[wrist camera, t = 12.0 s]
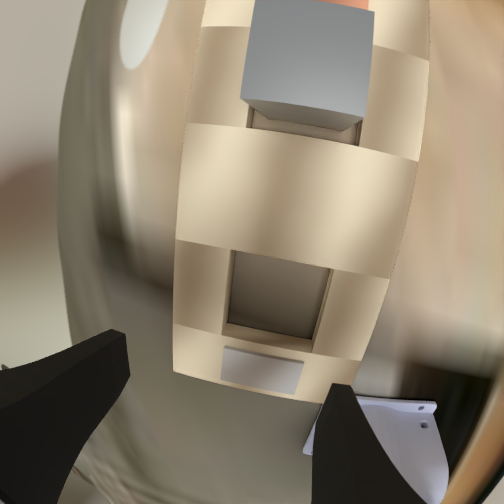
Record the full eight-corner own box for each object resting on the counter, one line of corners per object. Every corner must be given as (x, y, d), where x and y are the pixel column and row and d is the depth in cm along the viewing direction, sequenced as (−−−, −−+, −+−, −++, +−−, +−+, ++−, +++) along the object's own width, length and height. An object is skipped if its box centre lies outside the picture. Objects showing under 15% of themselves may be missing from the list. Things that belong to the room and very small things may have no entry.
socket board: (421, 9, 11) (430, -3, 10) (340, 391, 20) (341, 408, 19) (220, -20, 13) (212, -33, 11) (180, 358, 22) (171, 373, 20)
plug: (350, 63, 14) (374, 11, 7) (342, 131, 15) (365, 117, 9) (277, 52, 14) (255, -5, 8) (268, 119, 16) (239, 97, 9)
